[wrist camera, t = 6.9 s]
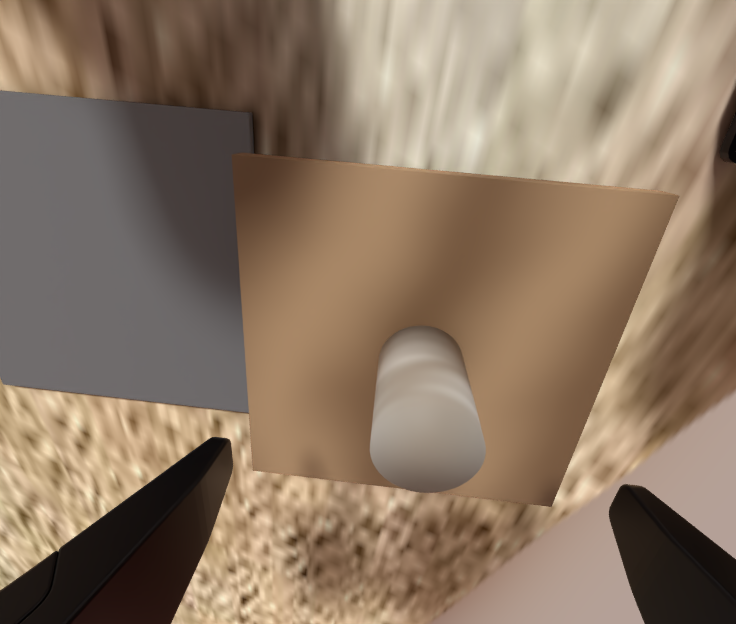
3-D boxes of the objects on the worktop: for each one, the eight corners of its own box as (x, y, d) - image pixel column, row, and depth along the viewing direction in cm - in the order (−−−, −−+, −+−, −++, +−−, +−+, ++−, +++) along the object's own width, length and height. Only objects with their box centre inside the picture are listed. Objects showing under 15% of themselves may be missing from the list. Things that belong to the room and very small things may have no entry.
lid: (661, 190, 11) (825, 235, 7) (544, 489, 16) (595, 621, 12) (242, 152, 12) (146, 171, 7) (259, 455, 17) (209, 570, 13)
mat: (252, 112, 15) (248, 112, 14) (265, 409, 21) (262, 414, 21) (-106, 81, 15) (-118, 80, 15) (9, 379, 21) (2, 384, 21)
